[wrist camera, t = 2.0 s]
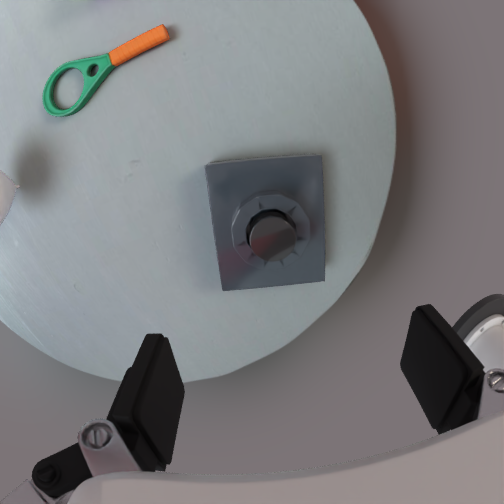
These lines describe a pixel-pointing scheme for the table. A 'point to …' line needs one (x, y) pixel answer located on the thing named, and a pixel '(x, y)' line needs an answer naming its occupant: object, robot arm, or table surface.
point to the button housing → (260, 201)
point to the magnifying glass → (100, 69)
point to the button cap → (272, 236)
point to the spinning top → (6, 194)
